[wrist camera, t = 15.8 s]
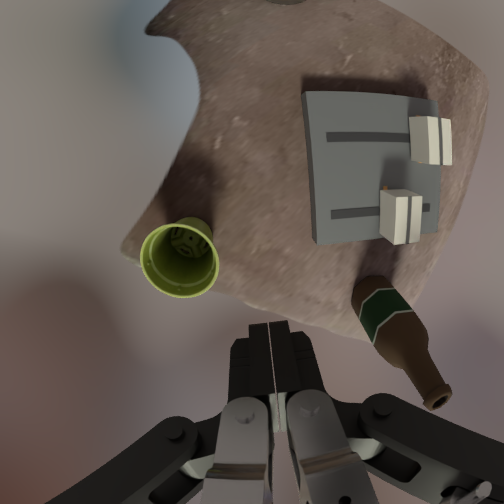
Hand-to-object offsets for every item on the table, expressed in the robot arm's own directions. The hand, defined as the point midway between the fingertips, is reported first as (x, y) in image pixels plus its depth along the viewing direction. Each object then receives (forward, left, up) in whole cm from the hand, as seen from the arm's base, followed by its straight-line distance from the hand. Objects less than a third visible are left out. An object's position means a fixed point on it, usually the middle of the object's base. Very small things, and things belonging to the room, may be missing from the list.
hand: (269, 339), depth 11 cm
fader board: (-3, +18, -29) cm, 34 cm away
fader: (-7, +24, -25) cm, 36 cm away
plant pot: (+5, -9, -29) cm, 31 cm away
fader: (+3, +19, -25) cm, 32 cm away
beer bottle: (+18, +18, -29) cm, 38 cm away
